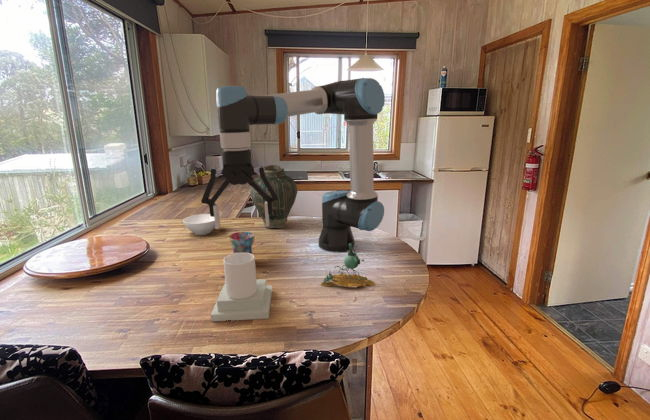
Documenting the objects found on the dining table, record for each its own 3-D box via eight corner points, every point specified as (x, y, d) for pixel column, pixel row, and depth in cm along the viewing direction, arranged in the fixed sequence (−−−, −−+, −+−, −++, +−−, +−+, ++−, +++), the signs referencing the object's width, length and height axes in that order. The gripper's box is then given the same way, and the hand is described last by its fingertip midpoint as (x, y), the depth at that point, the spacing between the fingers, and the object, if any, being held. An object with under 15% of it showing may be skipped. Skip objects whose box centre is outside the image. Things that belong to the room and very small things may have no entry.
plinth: (272, 291, 106) (271, 276, 104) (268, 318, 91) (267, 301, 90) (223, 293, 105) (221, 278, 103) (211, 321, 90) (209, 304, 89)
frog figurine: (321, 275, 116) (326, 234, 113) (374, 283, 115) (380, 242, 111) (318, 288, 107) (323, 244, 103) (375, 297, 106) (382, 252, 102)
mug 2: (239, 278, 103) (236, 246, 100) (265, 280, 102) (263, 248, 99) (221, 298, 92) (217, 263, 89) (250, 301, 90) (247, 265, 88)
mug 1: (246, 269, 121) (244, 241, 119) (225, 265, 125) (222, 237, 122) (265, 257, 132) (263, 231, 129) (245, 253, 136) (243, 228, 133)
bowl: (227, 230, 163) (226, 216, 162) (199, 240, 150) (197, 225, 149) (205, 225, 172) (204, 212, 170) (177, 234, 159) (175, 220, 157)
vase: (261, 219, 182) (258, 163, 174) (302, 220, 179) (300, 163, 171) (246, 232, 160) (241, 169, 153) (292, 234, 157) (290, 169, 150)
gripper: (284, 146, 94) (288, 220, 99) (191, 149, 91) (200, 224, 97) (284, 149, 86) (287, 228, 92) (182, 151, 84) (193, 232, 90)
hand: (243, 226), depth 95 cm, fingers open, 13 cm apart
